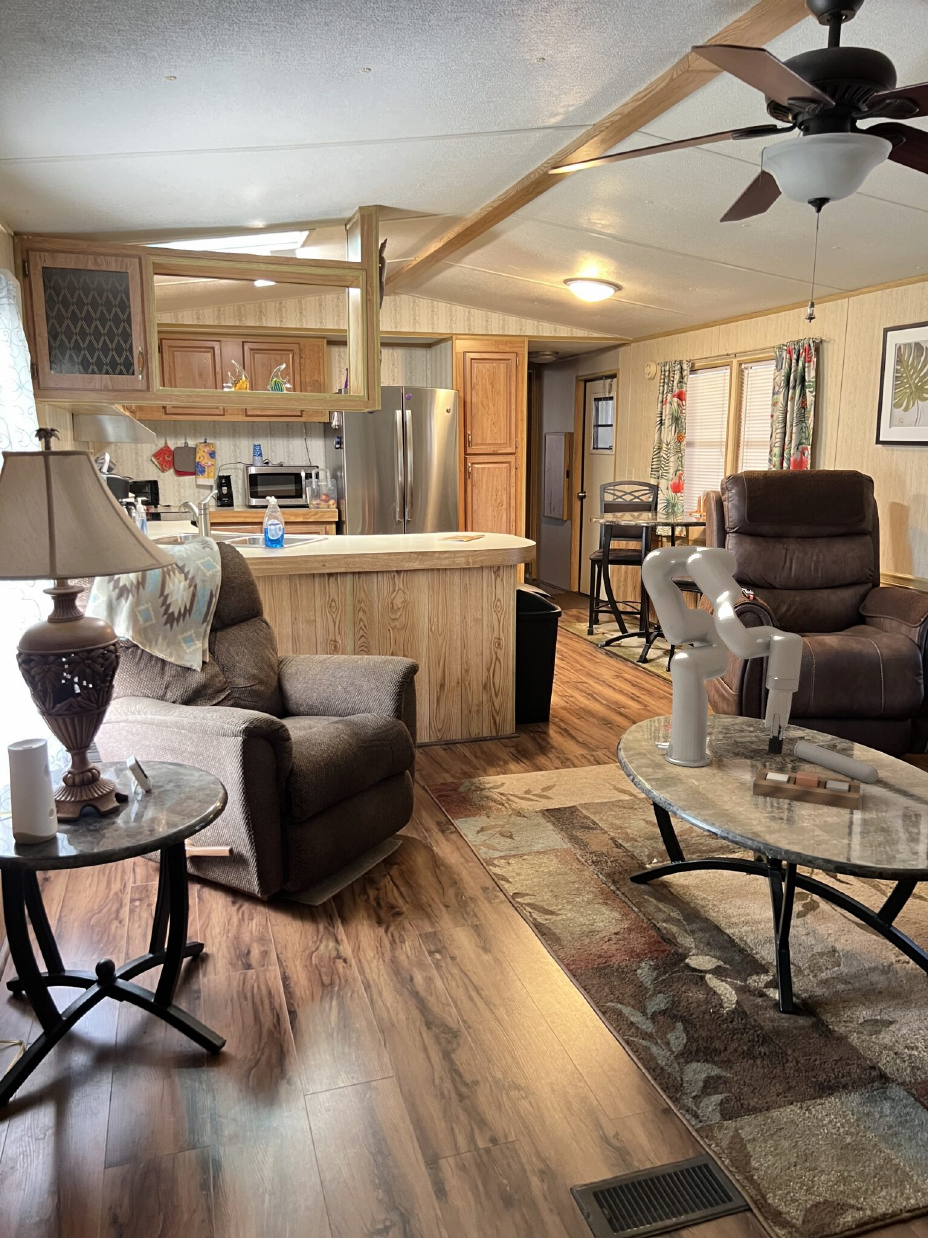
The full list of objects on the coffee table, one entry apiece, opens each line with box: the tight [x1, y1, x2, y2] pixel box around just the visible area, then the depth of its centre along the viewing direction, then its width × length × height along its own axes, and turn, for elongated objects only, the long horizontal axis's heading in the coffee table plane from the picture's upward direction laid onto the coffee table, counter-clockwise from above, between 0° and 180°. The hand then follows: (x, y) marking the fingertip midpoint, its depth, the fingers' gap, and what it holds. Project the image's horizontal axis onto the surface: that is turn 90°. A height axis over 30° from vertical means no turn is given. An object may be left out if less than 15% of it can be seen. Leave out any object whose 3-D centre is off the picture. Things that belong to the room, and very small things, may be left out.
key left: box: [766, 772, 789, 784], centre depth 224 cm, size 5×5×3 cm
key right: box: [826, 780, 849, 792], centre depth 218 cm, size 5×5×3 cm
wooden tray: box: [752, 768, 862, 811], centre depth 221 cm, size 24×12×3 cm, turn 65°
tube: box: [793, 739, 880, 785], centre depth 239 cm, size 5×5×25 cm
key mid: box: [796, 770, 820, 788], centre depth 221 cm, size 5×5×3 cm
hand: (774, 752), depth 224 cm, fingers closed
